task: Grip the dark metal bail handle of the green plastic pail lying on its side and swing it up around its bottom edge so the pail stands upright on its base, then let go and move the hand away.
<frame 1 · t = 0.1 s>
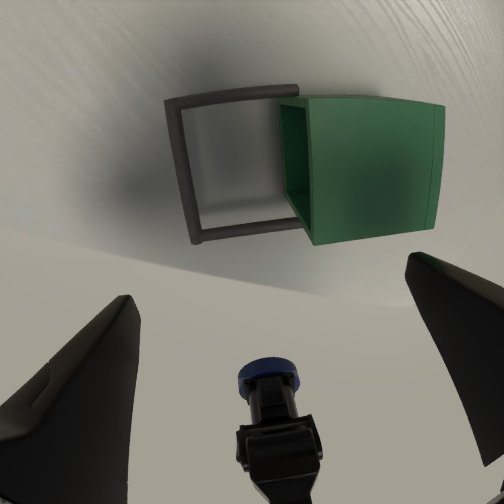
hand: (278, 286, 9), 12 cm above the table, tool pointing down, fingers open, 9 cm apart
pail: (408, 154, 16), point 3 cm above the table
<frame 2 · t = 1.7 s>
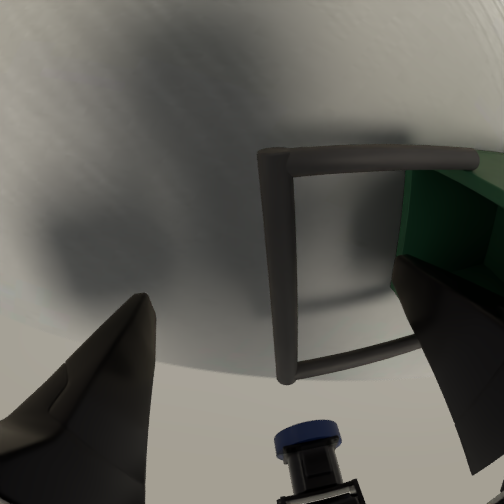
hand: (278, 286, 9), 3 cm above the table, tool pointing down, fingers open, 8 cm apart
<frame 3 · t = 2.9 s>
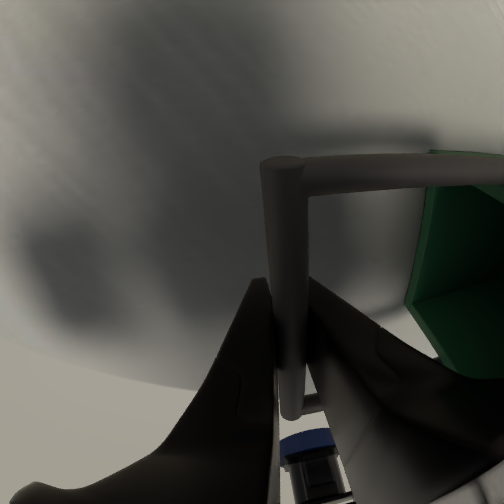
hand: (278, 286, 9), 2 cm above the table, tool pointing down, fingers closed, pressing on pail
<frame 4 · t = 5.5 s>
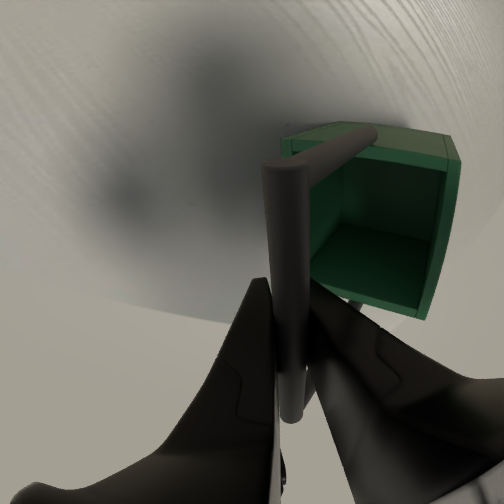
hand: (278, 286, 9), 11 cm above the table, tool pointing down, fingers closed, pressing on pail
pail: (392, 182, 16), point 2 cm above the table, tilted 50°, touching gripper
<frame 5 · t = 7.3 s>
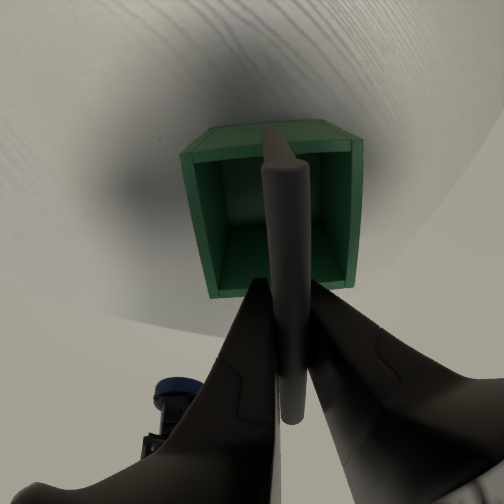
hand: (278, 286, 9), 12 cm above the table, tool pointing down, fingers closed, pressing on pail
pail: (271, 175, 18), on the table, tilted 83°, touching gripper
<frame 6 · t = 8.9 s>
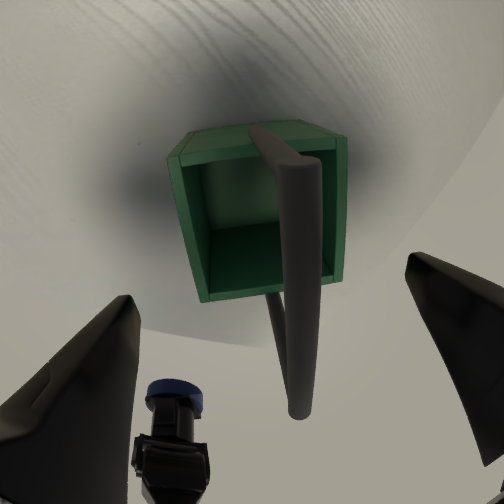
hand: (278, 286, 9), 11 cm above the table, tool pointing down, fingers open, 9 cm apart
pail: (250, 177, 19), on the table, tilted 90°
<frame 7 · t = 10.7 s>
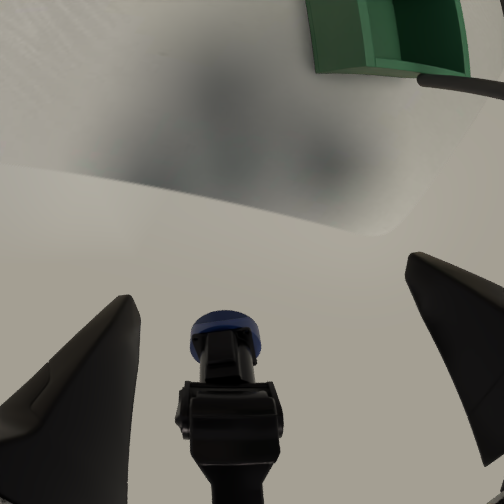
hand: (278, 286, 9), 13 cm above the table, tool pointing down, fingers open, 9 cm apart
pail: (356, 29, 15), on the table, tilted 90°
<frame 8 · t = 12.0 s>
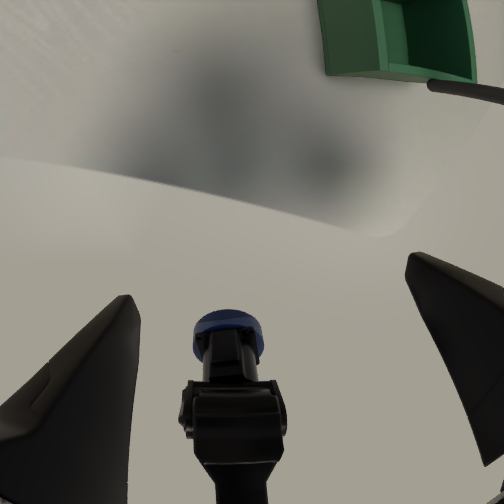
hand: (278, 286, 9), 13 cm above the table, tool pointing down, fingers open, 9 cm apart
pail: (366, 34, 15), on the table, tilted 90°
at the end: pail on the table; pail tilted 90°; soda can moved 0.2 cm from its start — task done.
